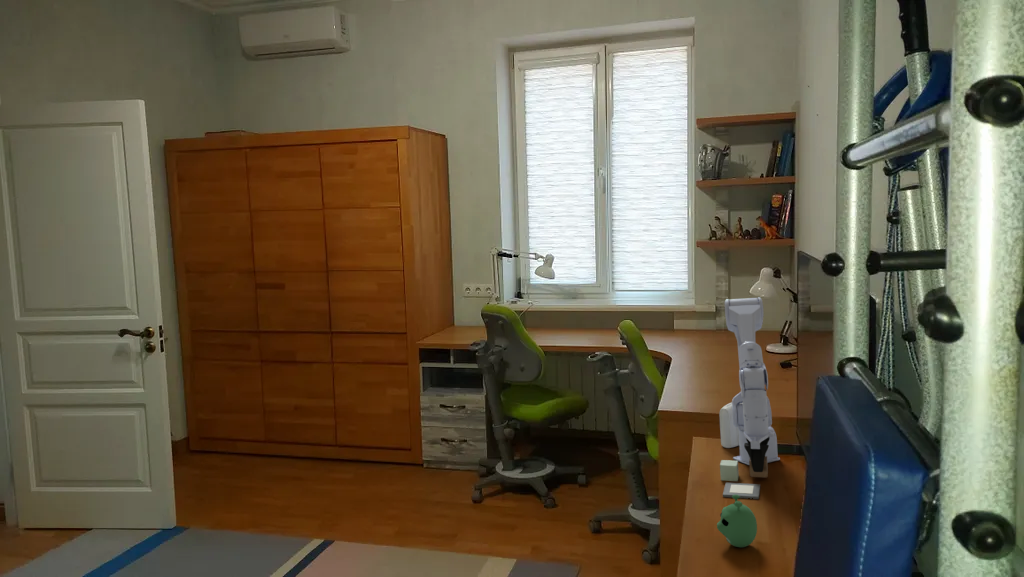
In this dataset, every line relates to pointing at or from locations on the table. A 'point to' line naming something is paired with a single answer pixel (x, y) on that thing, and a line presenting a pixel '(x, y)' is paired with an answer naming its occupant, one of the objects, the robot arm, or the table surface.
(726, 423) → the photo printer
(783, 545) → the table surface
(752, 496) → the grey flat square tile
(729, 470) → the sage block
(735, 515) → the alien toy
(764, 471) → the walnut block
